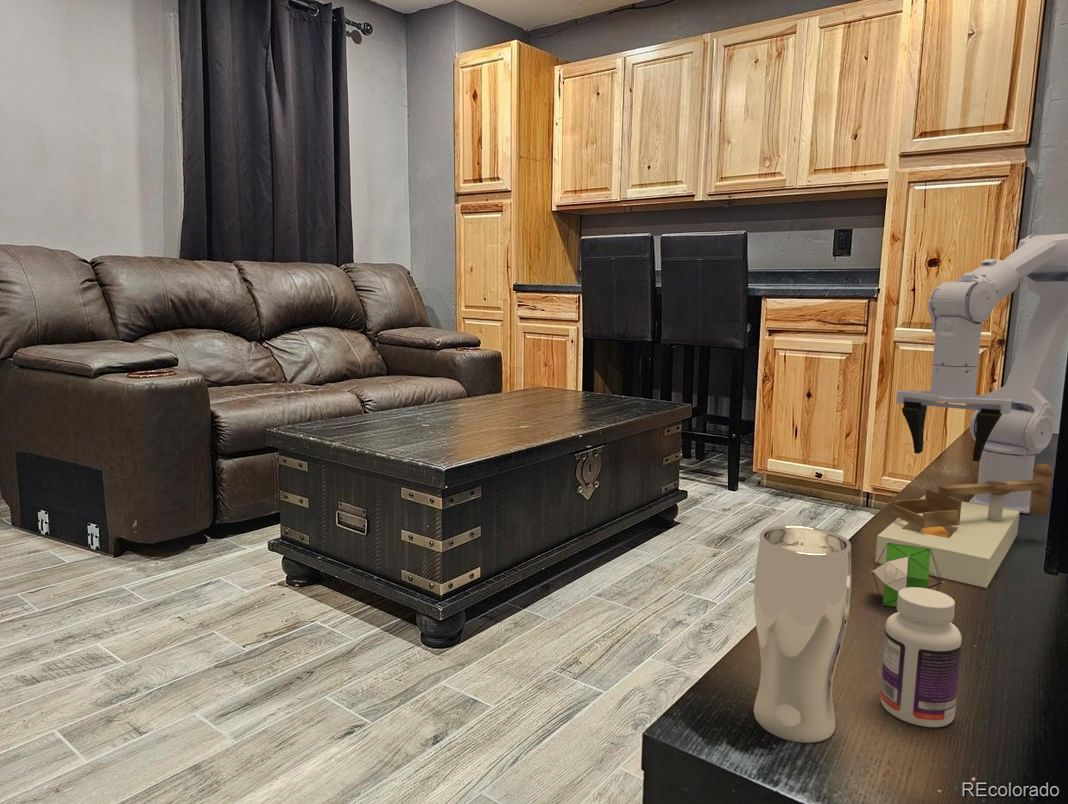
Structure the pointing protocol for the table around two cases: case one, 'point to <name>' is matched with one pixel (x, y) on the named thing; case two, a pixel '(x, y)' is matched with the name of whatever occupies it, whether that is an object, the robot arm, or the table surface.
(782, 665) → the beer glass
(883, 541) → the cream shape sorter
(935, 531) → the ball
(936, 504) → the lever
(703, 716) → the table surface
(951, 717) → the pill bottle
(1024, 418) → the robot arm
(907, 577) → the geometric puzzle
